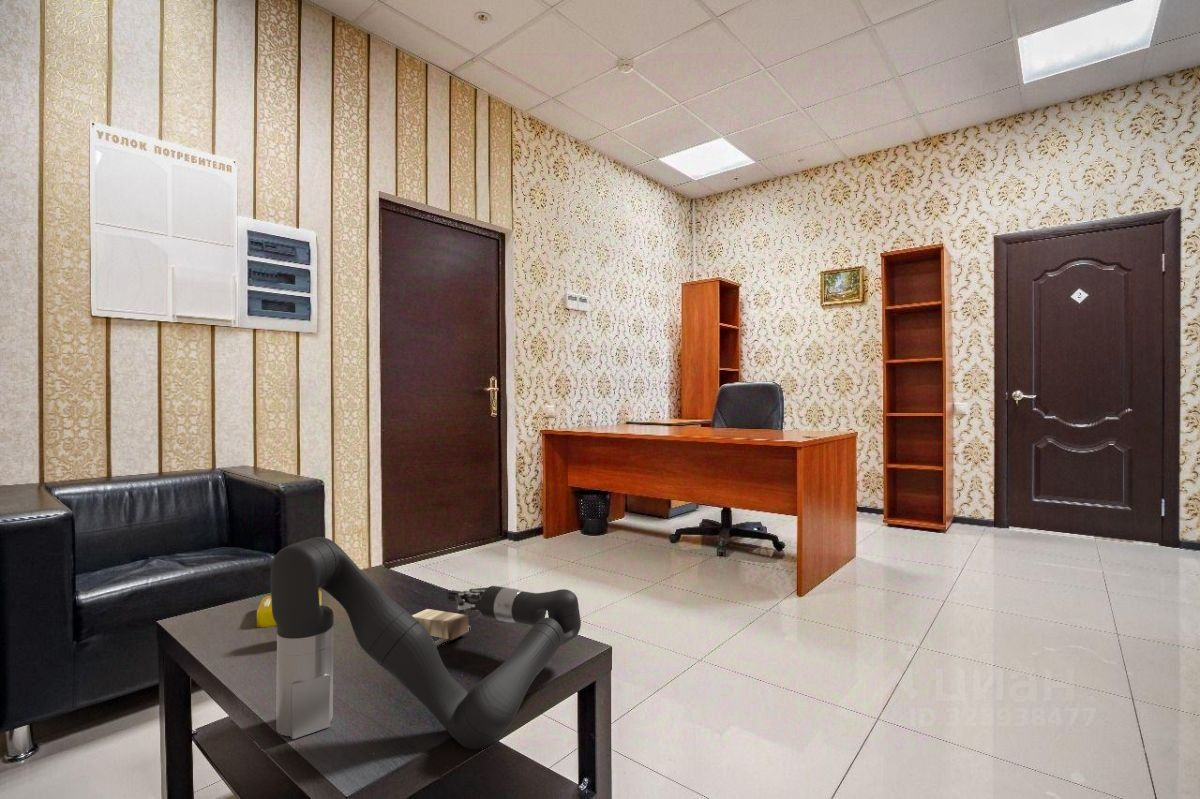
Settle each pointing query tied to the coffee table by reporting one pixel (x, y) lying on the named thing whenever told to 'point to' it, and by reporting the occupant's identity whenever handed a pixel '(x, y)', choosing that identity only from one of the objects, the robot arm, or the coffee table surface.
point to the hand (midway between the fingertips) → (449, 595)
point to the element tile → (270, 612)
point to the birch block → (443, 623)
